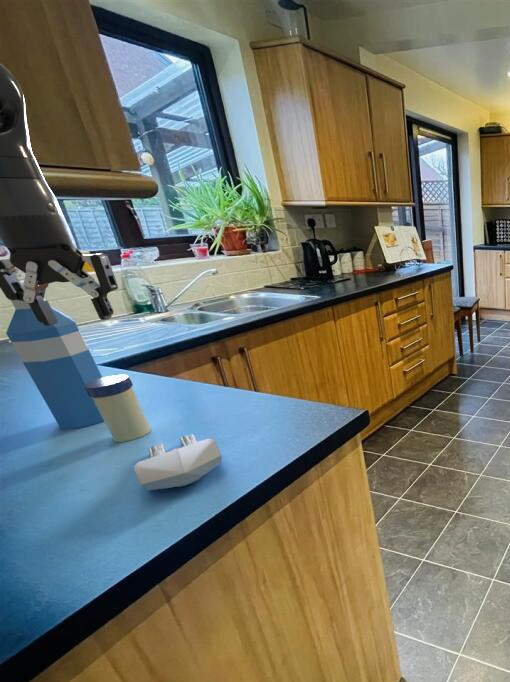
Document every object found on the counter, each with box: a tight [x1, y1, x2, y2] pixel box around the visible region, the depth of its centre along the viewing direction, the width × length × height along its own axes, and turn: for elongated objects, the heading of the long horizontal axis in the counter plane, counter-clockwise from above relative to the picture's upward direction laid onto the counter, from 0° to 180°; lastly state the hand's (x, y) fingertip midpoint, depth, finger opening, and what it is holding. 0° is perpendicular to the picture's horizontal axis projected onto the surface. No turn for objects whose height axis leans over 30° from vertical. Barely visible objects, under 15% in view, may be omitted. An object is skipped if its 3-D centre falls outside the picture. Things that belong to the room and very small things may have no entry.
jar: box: [92, 386, 152, 443], centre depth 73 cm, size 5×5×10 cm
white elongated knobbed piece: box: [133, 433, 222, 491], centre depth 64 cm, size 10×20×5 cm, turn 45°
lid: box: [84, 374, 134, 397], centre depth 71 cm, size 6×6×2 cm
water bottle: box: [5, 298, 105, 430], centre depth 77 cm, size 9×9×25 cm
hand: (79, 321), depth 67 cm, fingers open, 6 cm apart
